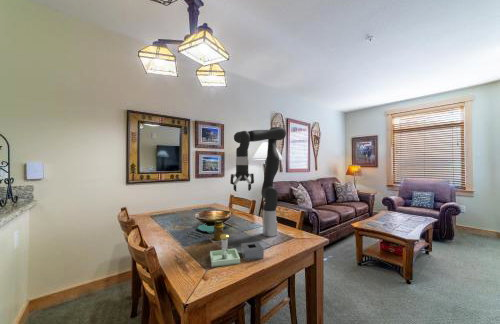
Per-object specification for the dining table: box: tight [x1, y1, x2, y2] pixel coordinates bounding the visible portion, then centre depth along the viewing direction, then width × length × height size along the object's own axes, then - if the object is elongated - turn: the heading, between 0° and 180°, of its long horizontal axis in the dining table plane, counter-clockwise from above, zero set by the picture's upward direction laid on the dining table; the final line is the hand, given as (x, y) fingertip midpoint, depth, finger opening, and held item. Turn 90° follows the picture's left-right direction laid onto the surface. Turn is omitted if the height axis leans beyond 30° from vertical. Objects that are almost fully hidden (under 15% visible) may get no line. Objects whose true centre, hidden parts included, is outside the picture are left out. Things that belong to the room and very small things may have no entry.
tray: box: [209, 248, 241, 268], centre depth 107 cm, size 14×12×2 cm
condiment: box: [209, 219, 224, 244], centre depth 134 cm, size 7×8×12 cm
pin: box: [220, 233, 230, 260], centre depth 107 cm, size 4×4×12 cm
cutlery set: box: [184, 223, 226, 240], centre depth 151 cm, size 20×30×2 cm, turn 144°
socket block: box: [240, 241, 265, 262], centre depth 112 cm, size 10×10×5 cm
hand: (242, 190), depth 125 cm, fingers open, 8 cm apart
